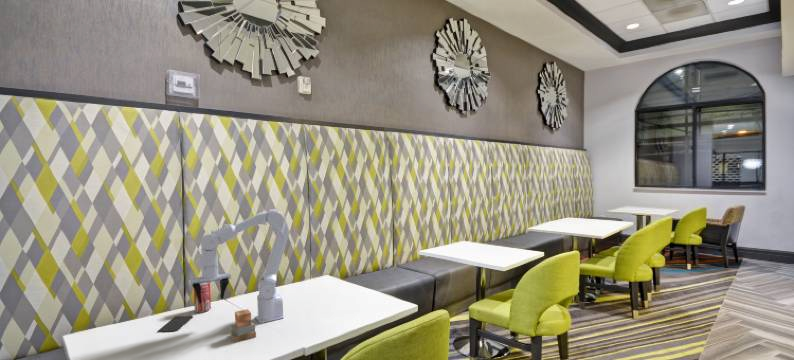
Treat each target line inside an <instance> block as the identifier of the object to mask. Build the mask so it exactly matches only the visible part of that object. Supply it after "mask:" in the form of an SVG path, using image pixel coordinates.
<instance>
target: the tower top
mask: <svg viewBox="0 0 794 360" xmlns="http://www.w3.org/2000/svg"><path fill="white" fill-rule="evenodd" d="M231 330H232V331H233V332H234V333H235V334H236V335H238V336H241V335H244V334H247V333H251V332H254V331H255V332H256V324H255V323H253V322H252V321H251V325H249V326H245V327H241V328H238V327H237V326H236V324H235V323H231Z"/></svg>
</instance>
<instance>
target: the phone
mask: <svg viewBox="0 0 794 360" xmlns="http://www.w3.org/2000/svg"><path fill="white" fill-rule="evenodd" d="M193 318H194V316H193V315H176V316H174V317H173V318H172V319H170V320H169V321H168V322H167V323H165V324H164V325H163V326H161V328H160V329H158V330H157V333H158V332H162V333H175V332H178V331H180V329H182V328H183V327H184V326H185V325H186V324H187V323H188V322H189V321H191V320H192V319H193ZM190 319H191V320H190ZM183 325H184V326H183ZM182 326H183V327H182ZM181 327H182V328H181Z"/></svg>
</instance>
